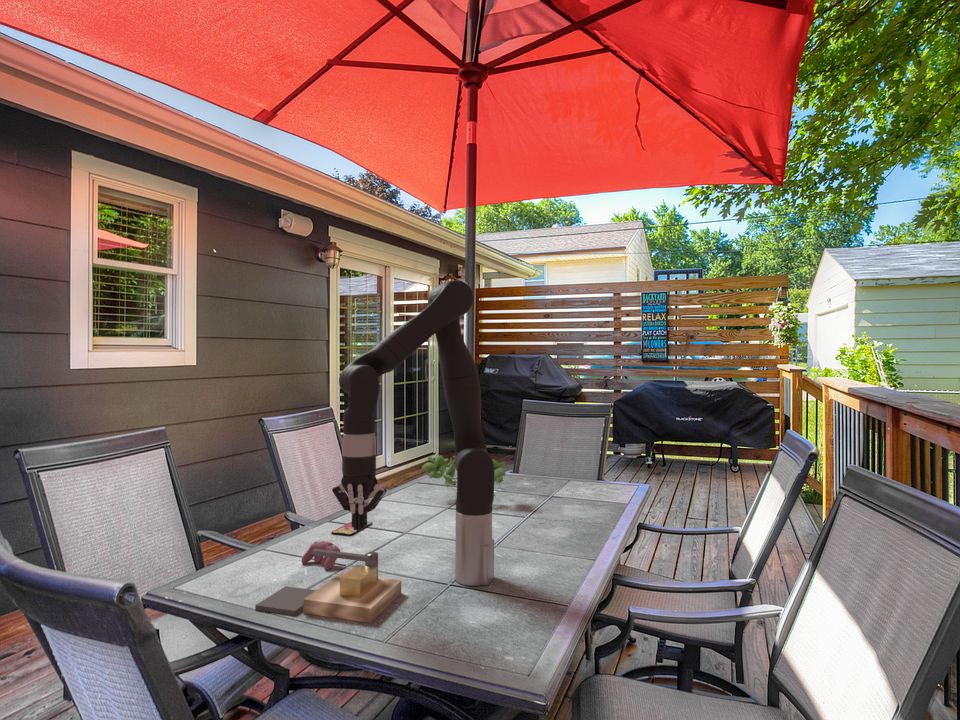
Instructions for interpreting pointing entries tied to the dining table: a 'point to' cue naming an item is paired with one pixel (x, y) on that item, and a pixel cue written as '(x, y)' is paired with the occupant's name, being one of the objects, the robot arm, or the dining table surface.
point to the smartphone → (347, 530)
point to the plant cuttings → (441, 466)
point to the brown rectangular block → (358, 581)
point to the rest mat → (285, 601)
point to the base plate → (352, 600)
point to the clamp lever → (350, 556)
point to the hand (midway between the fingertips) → (359, 529)
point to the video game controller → (326, 560)
